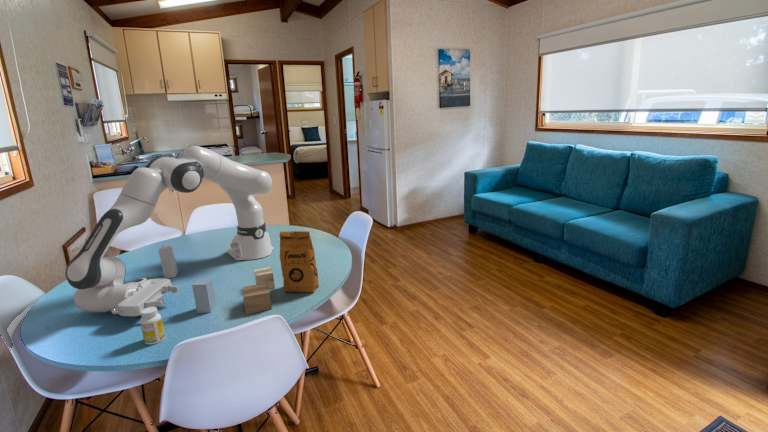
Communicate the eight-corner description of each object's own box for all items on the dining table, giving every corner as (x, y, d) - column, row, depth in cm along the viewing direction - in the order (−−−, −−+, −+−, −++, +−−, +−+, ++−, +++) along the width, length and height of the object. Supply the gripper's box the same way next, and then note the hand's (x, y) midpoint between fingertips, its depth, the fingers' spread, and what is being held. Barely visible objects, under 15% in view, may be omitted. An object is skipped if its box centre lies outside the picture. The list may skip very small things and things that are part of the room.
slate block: (197, 313, 130) (192, 285, 127) (203, 306, 134) (198, 279, 132) (210, 312, 130) (206, 284, 127) (216, 305, 134) (211, 278, 132)
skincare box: (176, 277, 160) (170, 248, 156) (163, 279, 158) (158, 250, 155) (178, 271, 165) (173, 244, 162) (166, 273, 164) (160, 245, 161)
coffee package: (314, 295, 138) (308, 235, 133) (280, 294, 140) (273, 235, 135) (322, 283, 148) (317, 226, 142) (290, 282, 150) (284, 226, 144)
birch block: (256, 284, 149) (254, 269, 148) (272, 281, 151) (270, 266, 150) (257, 291, 144) (255, 275, 142) (274, 287, 146) (272, 272, 145)
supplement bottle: (148, 347, 112) (141, 316, 109) (141, 341, 115) (134, 311, 113) (168, 338, 116) (162, 308, 113) (161, 332, 119) (154, 303, 117)
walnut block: (246, 303, 135) (243, 286, 134) (270, 298, 138) (268, 282, 136) (245, 313, 128) (243, 296, 126) (271, 309, 130) (269, 292, 129)
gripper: (105, 303, 120) (150, 302, 120) (144, 275, 140) (183, 274, 140) (110, 322, 122) (154, 320, 122) (148, 292, 142) (186, 290, 141)
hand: (170, 295), depth 131 cm, fingers open, 8 cm apart
